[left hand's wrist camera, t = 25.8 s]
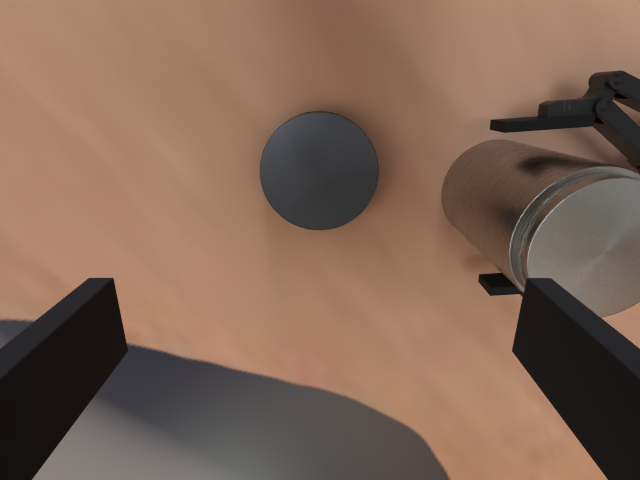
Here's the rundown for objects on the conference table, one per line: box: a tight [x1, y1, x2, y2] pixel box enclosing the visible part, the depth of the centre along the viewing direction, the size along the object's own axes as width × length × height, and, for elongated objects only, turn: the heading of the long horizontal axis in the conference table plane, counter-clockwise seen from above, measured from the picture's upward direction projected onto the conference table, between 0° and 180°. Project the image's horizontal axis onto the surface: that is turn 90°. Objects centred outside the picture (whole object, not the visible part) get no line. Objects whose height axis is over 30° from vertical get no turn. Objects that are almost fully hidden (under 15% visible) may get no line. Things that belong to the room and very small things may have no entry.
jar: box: [442, 140, 640, 317], centre depth 31 cm, size 10×10×16 cm
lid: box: [260, 111, 378, 230], centre depth 37 cm, size 11×11×2 cm
